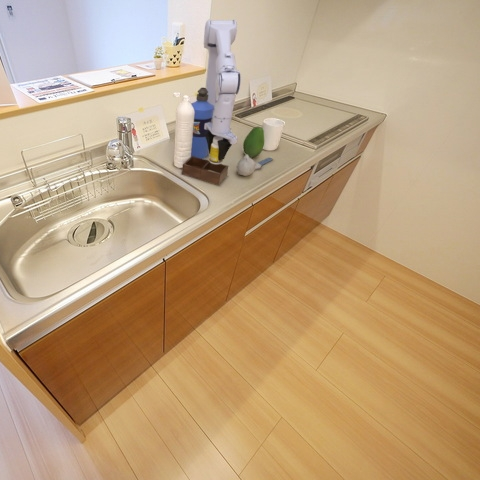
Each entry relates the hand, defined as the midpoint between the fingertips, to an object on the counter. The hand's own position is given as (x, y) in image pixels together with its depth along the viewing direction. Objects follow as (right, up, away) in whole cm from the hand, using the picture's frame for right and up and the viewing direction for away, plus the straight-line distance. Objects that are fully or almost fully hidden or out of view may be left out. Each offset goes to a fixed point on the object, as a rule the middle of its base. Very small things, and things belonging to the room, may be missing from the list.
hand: (216, 156), depth 95 cm
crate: (-3, -5, +7) cm, 9 cm away
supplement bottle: (0, -2, +1) cm, 2 cm away
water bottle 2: (-4, +7, +20) cm, 21 cm away
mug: (+29, +12, +25) cm, 40 cm away
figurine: (+12, -5, +7) cm, 15 cm away
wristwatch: (+18, -1, +11) cm, 21 cm away
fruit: (+18, +5, +18) cm, 26 cm away
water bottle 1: (-12, +1, +13) cm, 18 cm away
